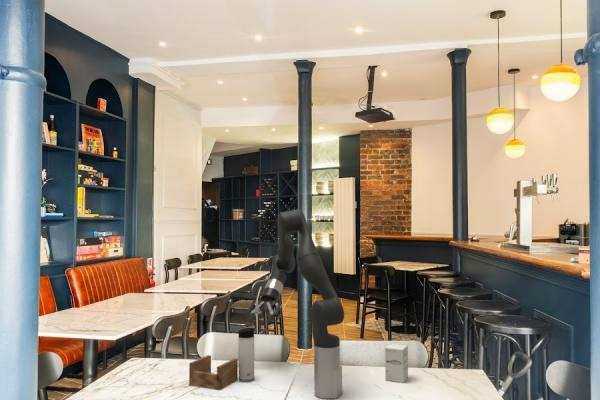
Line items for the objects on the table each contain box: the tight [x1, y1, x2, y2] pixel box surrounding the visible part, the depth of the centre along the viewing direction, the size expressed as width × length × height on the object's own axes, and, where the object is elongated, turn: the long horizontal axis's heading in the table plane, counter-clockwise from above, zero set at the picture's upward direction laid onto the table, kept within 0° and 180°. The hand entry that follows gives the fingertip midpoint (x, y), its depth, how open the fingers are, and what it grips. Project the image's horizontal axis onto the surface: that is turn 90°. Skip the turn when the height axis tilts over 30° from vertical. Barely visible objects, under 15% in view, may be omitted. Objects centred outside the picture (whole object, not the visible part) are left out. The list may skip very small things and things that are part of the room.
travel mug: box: [237, 327, 256, 383], centre depth 181 cm, size 6×7×20 cm
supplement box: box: [384, 343, 409, 384], centre depth 179 cm, size 7×7×13 cm
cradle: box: [188, 354, 239, 391], centre depth 177 cm, size 14×12×8 cm
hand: (259, 323), depth 191 cm, fingers open, 8 cm apart
